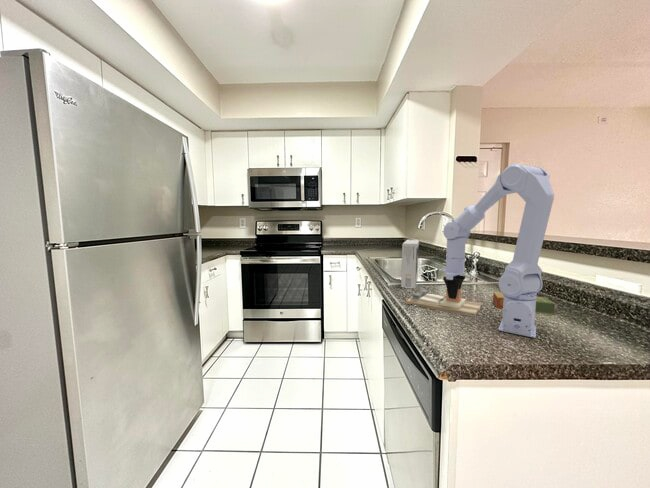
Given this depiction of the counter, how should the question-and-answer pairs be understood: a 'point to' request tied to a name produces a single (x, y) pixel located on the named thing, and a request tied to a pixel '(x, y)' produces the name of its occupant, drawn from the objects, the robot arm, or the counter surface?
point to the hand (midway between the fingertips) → (453, 297)
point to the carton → (541, 304)
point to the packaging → (409, 263)
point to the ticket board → (434, 303)
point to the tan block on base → (453, 301)
